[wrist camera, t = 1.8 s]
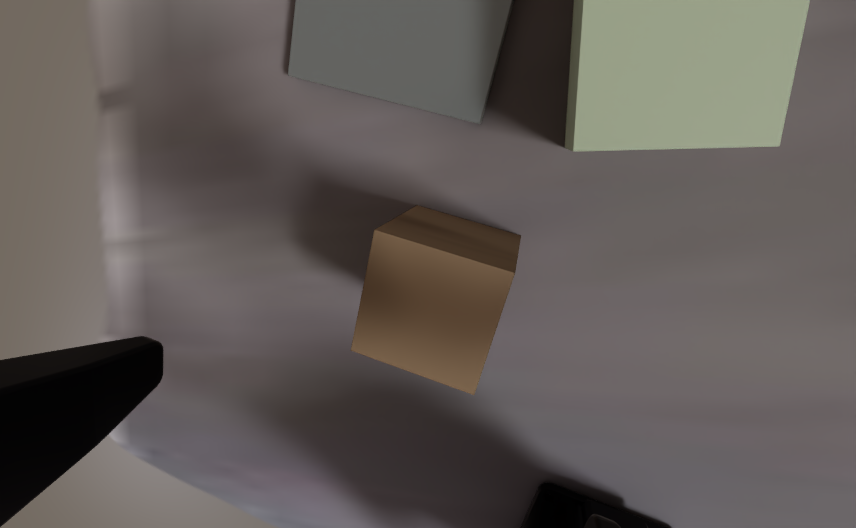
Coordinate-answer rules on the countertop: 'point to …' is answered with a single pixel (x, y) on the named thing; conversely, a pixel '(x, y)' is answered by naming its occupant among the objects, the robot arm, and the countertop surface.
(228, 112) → the countertop surface
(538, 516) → the robot arm
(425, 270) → the walnut block
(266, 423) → the countertop surface
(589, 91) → the sage block
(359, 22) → the slate coaster
